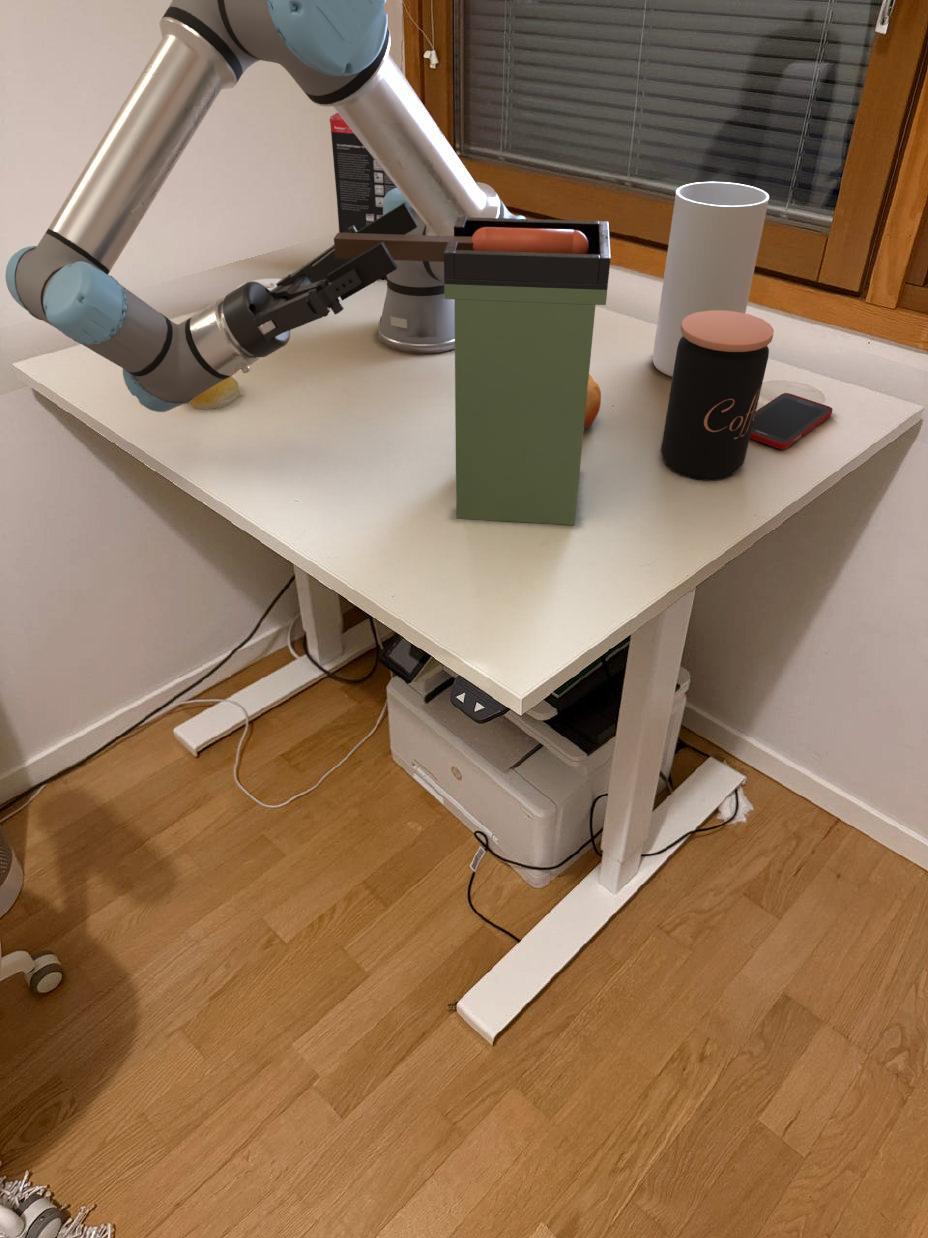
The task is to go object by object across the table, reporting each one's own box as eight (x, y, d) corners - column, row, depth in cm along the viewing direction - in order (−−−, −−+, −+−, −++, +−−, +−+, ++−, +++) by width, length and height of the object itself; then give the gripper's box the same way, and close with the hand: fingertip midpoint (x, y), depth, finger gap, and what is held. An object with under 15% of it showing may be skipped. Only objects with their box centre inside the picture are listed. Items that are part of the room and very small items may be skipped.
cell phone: (833, 414, 124) (835, 407, 124) (783, 451, 116) (785, 445, 116) (783, 397, 128) (784, 391, 128) (731, 432, 120) (733, 426, 120)
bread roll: (200, 416, 124) (195, 390, 122) (171, 395, 130) (165, 369, 127) (252, 399, 128) (247, 373, 126) (221, 379, 134) (217, 354, 131)
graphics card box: (436, 272, 170) (433, 112, 153) (427, 284, 165) (422, 120, 148) (352, 265, 173) (340, 108, 156) (340, 277, 168) (326, 115, 151)
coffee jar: (694, 491, 109) (721, 351, 97) (642, 453, 116) (662, 318, 105) (760, 470, 113) (794, 334, 101) (706, 435, 120) (732, 303, 108)
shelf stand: (447, 518, 104) (444, 283, 87) (458, 466, 114) (457, 245, 96) (583, 526, 103) (607, 289, 85) (583, 473, 112) (605, 250, 95)
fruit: (608, 399, 125) (607, 364, 118) (595, 446, 123) (593, 414, 115) (553, 390, 127) (548, 356, 120) (539, 437, 125) (533, 405, 117)
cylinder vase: (700, 391, 130) (733, 212, 114) (635, 364, 138) (657, 192, 122) (749, 367, 137) (787, 194, 121) (685, 343, 144) (712, 177, 128)
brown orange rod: (334, 260, 91) (331, 227, 89) (340, 250, 93) (337, 218, 91) (587, 268, 89) (589, 235, 87) (587, 258, 91) (589, 225, 89)
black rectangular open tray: (444, 283, 87) (443, 252, 85) (457, 245, 96) (457, 216, 94) (607, 289, 85) (610, 258, 84) (605, 250, 95) (608, 221, 93)
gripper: (292, 315, 110) (436, 230, 101) (229, 406, 91) (400, 311, 82) (254, 260, 106) (401, 167, 97) (181, 343, 87) (355, 237, 78)
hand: (401, 233), depth 90 cm, fingers open, 13 cm apart
